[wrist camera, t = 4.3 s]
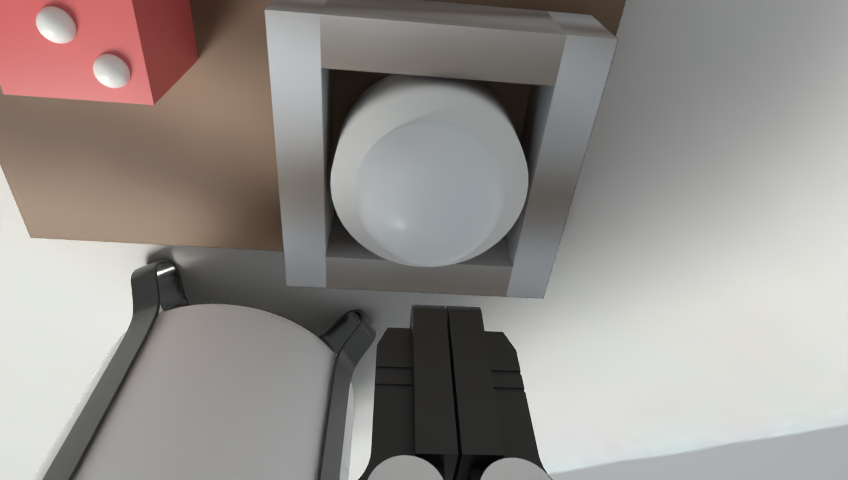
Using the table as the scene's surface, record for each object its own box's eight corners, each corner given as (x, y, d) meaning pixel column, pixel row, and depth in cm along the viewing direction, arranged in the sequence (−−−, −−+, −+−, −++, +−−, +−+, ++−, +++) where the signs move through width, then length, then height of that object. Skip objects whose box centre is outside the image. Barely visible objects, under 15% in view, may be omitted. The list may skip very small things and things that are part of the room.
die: (36, -89, 16) (-73, -70, 12) (177, -76, 16) (111, -53, 13) (75, 50, 18) (-7, 100, 15) (198, 59, 18) (147, 111, 15)
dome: (337, 59, 18) (317, 122, 14) (531, 74, 18) (568, 140, 14) (338, 222, 21) (322, 310, 17) (499, 232, 22) (520, 320, 18)
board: (-246, -538, 12) (-490, -682, 9) (719, -399, 13) (819, -476, 10) (46, 221, 24) (-12, 281, 20) (544, 249, 25) (565, 309, 22)
